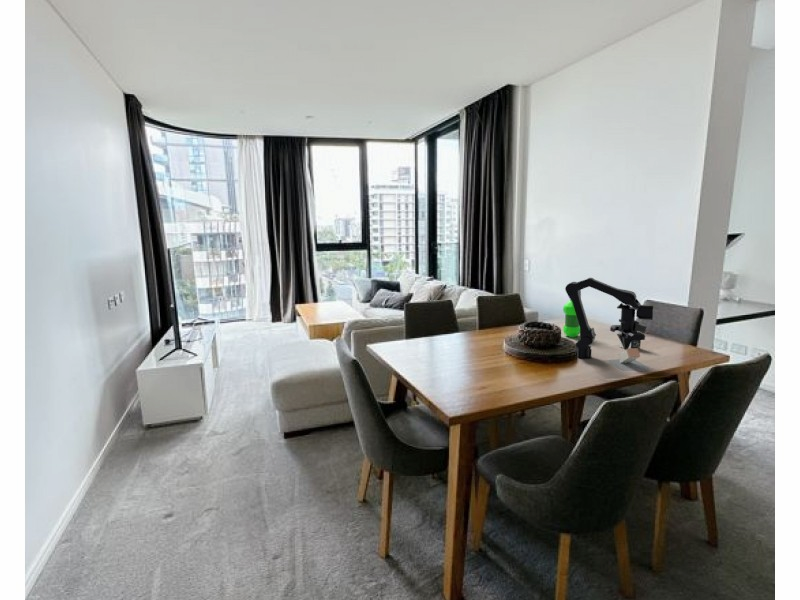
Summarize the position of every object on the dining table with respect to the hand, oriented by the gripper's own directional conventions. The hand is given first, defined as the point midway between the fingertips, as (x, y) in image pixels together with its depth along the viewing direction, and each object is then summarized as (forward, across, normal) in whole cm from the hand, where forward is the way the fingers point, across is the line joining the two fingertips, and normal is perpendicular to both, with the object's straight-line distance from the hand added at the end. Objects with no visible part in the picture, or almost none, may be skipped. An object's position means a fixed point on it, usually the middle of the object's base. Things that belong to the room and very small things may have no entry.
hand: (625, 349), depth 197 cm
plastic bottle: (+7, +52, +2) cm, 52 cm away
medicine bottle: (+7, +23, -17) cm, 30 cm away
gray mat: (+7, -2, 0) cm, 7 cm away
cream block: (+5, +1, 0) cm, 5 cm away
